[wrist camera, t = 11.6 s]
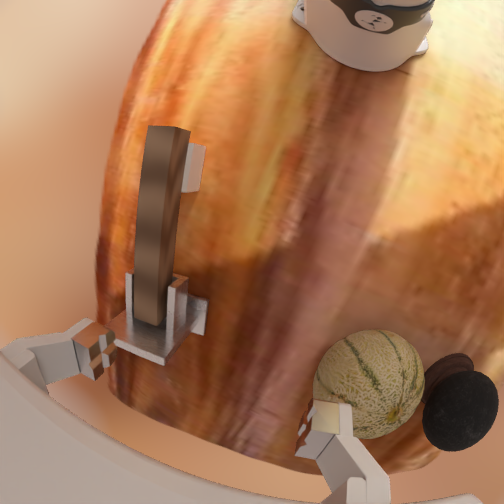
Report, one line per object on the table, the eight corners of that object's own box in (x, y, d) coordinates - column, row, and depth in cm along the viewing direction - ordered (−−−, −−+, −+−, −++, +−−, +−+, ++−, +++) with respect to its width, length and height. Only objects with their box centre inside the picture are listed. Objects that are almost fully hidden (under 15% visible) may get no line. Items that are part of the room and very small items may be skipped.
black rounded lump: (425, 350, 35) (457, 417, 21) (486, 345, 33) (525, 398, 18) (403, 409, 39) (417, 473, 24) (460, 401, 36) (483, 456, 22)
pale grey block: (173, 143, 35) (158, 140, 32) (206, 146, 35) (194, 143, 31) (166, 185, 37) (151, 187, 33) (199, 190, 36) (186, 192, 33)
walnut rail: (165, 129, 31) (148, 125, 27) (190, 131, 31) (175, 126, 27) (149, 305, 38) (134, 317, 34) (170, 312, 38) (156, 326, 34)
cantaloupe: (295, 365, 40) (283, 441, 26) (353, 291, 35) (372, 357, 21) (367, 400, 39) (376, 470, 25) (427, 336, 35) (462, 402, 20)
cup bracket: (140, 254, 41) (88, 280, 30) (212, 274, 39) (173, 312, 28) (139, 310, 44) (95, 346, 32) (205, 333, 42) (171, 380, 31)
